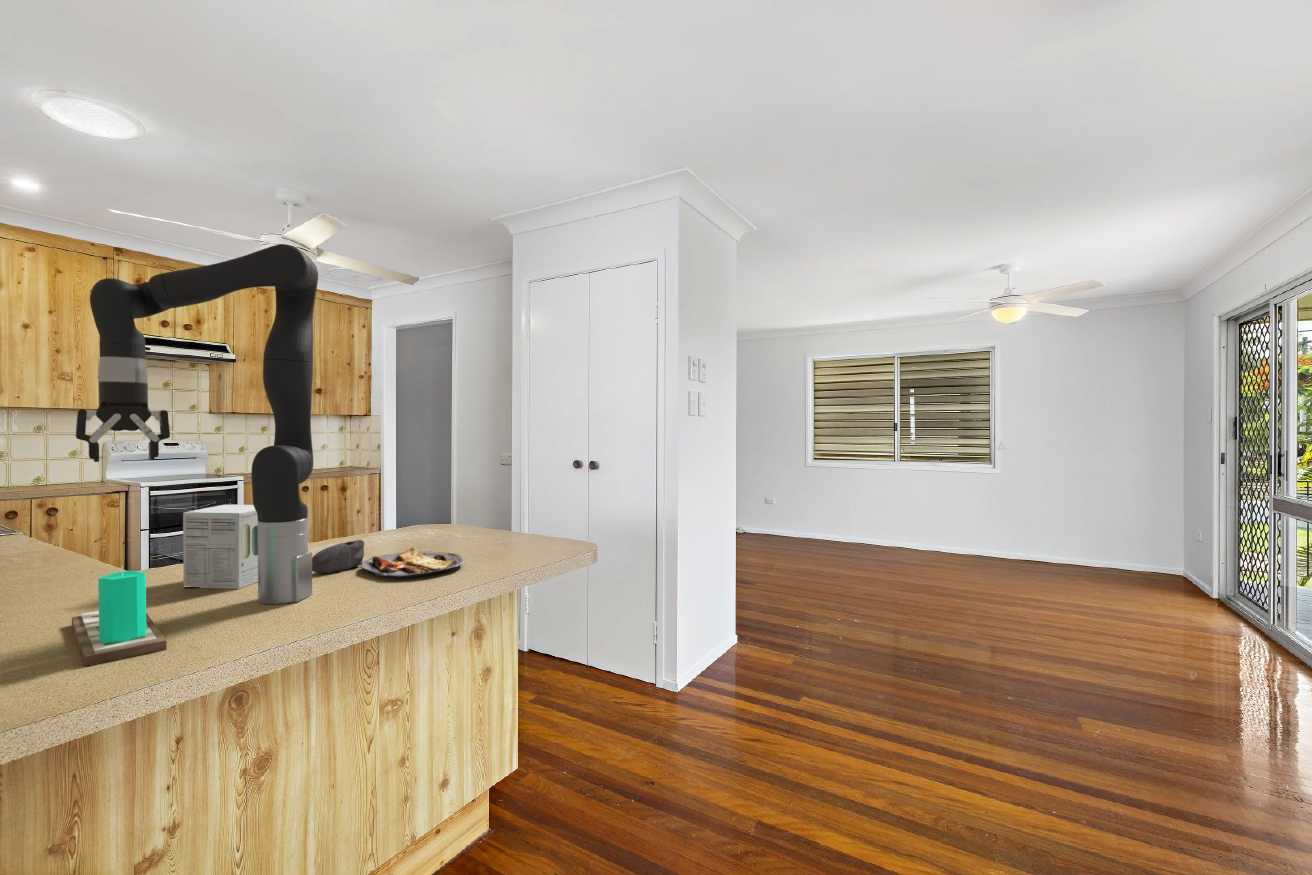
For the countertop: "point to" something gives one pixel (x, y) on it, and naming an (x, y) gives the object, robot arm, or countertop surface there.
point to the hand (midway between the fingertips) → (124, 460)
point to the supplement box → (220, 547)
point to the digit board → (105, 652)
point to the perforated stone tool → (339, 557)
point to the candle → (122, 606)
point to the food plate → (412, 563)
